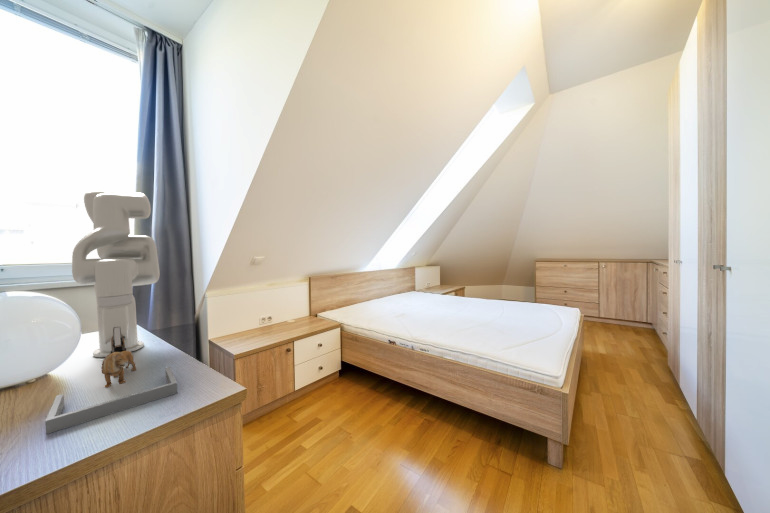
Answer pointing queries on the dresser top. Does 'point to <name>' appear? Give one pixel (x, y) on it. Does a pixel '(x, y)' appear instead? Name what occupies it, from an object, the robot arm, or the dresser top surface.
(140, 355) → the dresser top surface
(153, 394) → the box
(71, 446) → the dresser top surface
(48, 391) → the dresser top surface
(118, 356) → the lion figurine
